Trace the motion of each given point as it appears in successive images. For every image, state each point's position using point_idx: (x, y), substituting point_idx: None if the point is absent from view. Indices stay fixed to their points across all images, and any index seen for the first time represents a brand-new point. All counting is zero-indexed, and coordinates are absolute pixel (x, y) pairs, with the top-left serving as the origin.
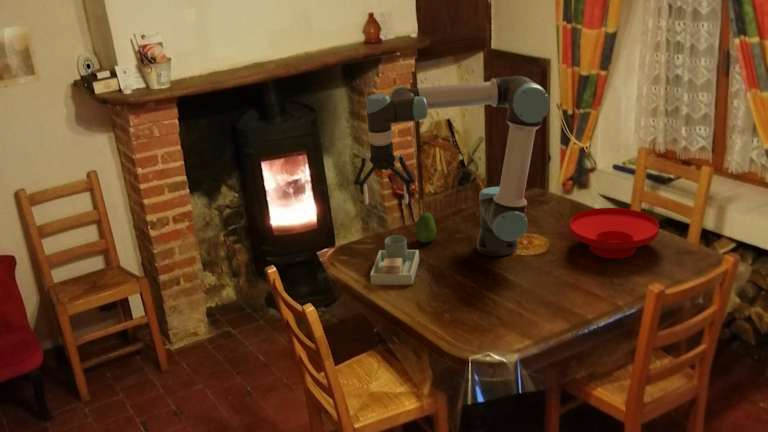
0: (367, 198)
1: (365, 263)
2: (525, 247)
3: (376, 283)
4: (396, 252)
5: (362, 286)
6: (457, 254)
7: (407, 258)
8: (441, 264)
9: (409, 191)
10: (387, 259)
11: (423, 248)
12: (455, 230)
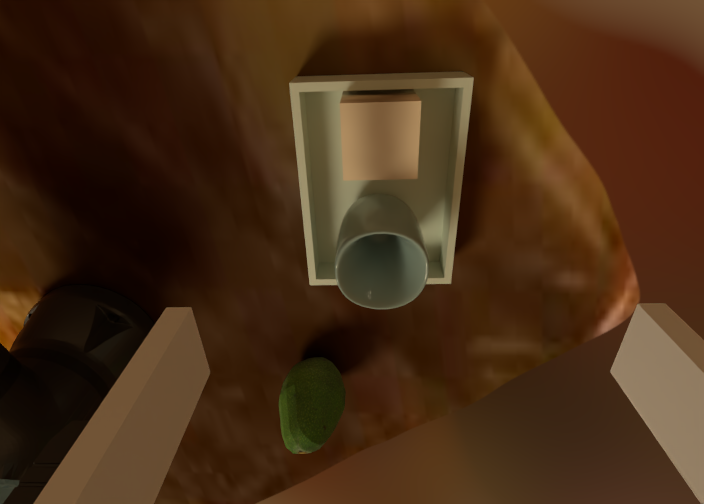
0: (653, 388)
1: (494, 242)
2: None
3: (442, 72)
4: (371, 213)
5: (498, 57)
6: (203, 297)
7: None
8: (233, 235)
9: (49, 451)
10: (405, 166)
11: (317, 331)
12: (252, 416)
